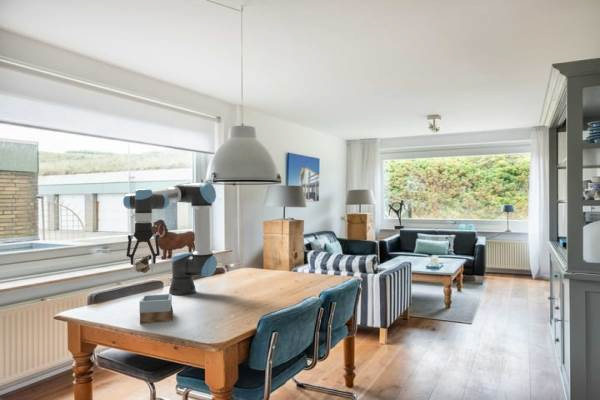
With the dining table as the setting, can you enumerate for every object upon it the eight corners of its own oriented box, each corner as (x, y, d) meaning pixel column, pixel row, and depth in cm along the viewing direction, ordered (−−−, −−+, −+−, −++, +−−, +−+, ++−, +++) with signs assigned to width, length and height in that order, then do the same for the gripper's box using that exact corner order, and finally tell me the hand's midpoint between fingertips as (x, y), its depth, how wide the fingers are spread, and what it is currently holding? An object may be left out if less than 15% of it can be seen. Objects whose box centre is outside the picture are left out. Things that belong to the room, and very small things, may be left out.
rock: (160, 268, 196) (153, 253, 202) (150, 263, 190) (142, 249, 196) (147, 281, 196) (139, 266, 202) (136, 277, 190) (129, 261, 196)
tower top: (171, 304, 201) (171, 293, 201) (170, 311, 188) (170, 300, 188) (142, 305, 198) (142, 295, 198) (139, 313, 185) (139, 301, 185)
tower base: (171, 314, 202) (171, 303, 202) (172, 321, 189) (173, 310, 189) (140, 316, 197) (140, 306, 197) (139, 324, 184) (139, 313, 184)
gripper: (165, 221, 202) (165, 269, 202) (120, 222, 196) (120, 271, 196) (166, 222, 195) (165, 271, 195) (119, 222, 189) (119, 273, 189)
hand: (143, 271), depth 195 cm, fingers closed on rock, 7 cm apart
